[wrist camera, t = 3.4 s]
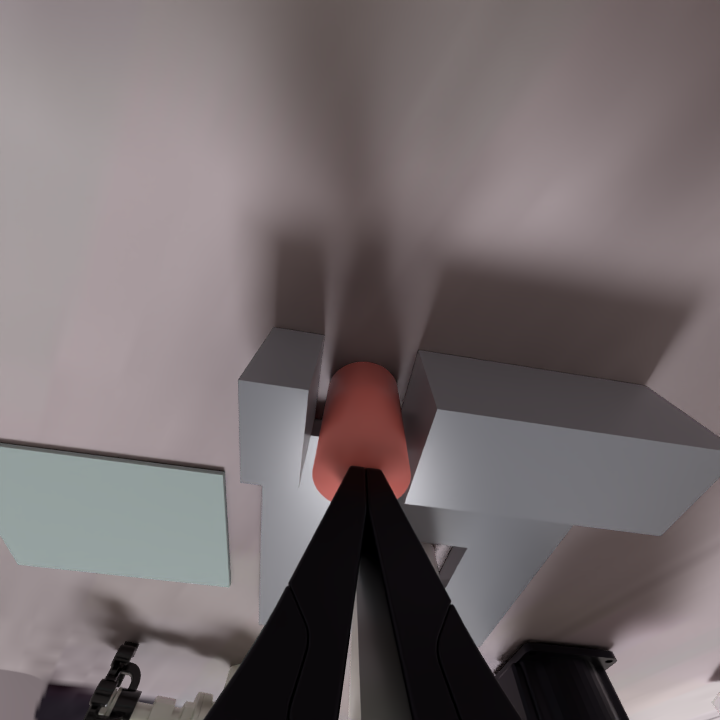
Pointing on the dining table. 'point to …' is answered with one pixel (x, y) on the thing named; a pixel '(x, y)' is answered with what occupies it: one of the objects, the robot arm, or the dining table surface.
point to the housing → (477, 465)
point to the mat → (114, 516)
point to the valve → (121, 708)
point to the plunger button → (361, 429)
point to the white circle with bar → (717, 702)
